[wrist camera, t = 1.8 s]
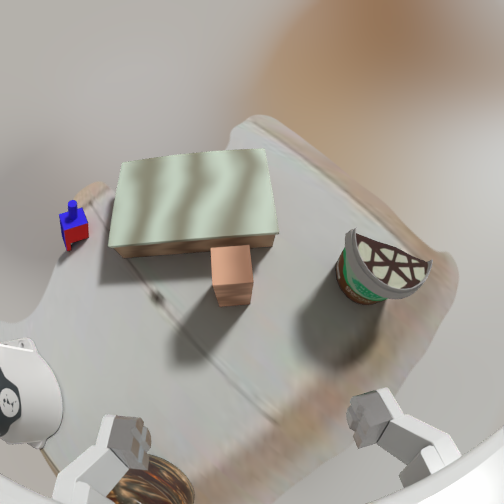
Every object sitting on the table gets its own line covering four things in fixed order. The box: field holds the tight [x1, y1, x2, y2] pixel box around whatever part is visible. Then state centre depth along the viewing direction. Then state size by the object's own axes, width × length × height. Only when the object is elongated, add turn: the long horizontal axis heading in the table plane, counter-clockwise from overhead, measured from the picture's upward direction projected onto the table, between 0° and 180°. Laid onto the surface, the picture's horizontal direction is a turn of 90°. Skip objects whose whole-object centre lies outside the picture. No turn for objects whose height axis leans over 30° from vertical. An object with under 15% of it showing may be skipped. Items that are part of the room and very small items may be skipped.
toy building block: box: [59, 200, 89, 251], centre depth 37 cm, size 4×4×8 cm
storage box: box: [108, 148, 279, 258], centre depth 39 cm, size 23×15×5 cm, turn 96°
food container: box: [336, 228, 433, 305], centre depth 33 cm, size 12×6×10 cm, turn 70°
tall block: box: [211, 245, 253, 307], centre depth 32 cm, size 4×4×10 cm
